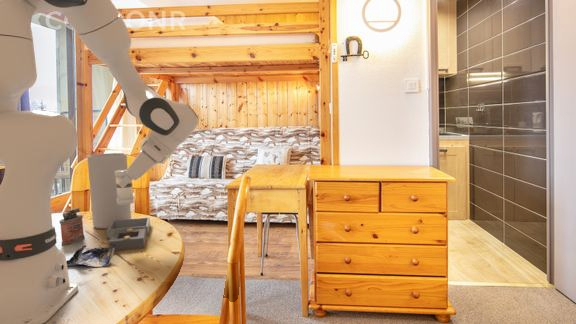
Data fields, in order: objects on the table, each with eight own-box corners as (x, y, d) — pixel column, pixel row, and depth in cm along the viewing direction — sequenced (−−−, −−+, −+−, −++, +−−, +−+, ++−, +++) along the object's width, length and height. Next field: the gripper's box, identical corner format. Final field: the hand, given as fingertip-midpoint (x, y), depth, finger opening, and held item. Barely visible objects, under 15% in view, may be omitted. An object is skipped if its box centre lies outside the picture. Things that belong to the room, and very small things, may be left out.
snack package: (71, 278, 93) (121, 263, 100) (66, 251, 93) (117, 239, 100) (60, 272, 102) (107, 259, 109) (56, 248, 102) (103, 237, 109)
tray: (148, 235, 124) (147, 226, 124) (107, 239, 121) (106, 230, 121) (150, 225, 136) (149, 217, 135) (113, 229, 132) (112, 220, 132)
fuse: (133, 203, 112) (131, 171, 111) (116, 205, 111) (113, 172, 110) (134, 200, 116) (132, 169, 116) (118, 202, 115) (115, 170, 114)
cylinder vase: (136, 224, 138) (131, 154, 135) (99, 231, 130) (93, 157, 127) (124, 218, 147) (119, 152, 145) (88, 224, 139) (82, 155, 136)
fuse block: (144, 248, 112) (143, 236, 111) (110, 251, 109) (109, 239, 109) (146, 238, 121) (145, 226, 121) (115, 241, 119) (114, 230, 118)
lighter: (68, 245, 116) (65, 213, 115) (58, 245, 116) (55, 212, 115) (87, 237, 124) (84, 206, 122) (78, 237, 124) (75, 206, 123)
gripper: (148, 141, 124) (117, 173, 122) (144, 144, 104) (107, 182, 102) (164, 154, 125) (133, 186, 124) (163, 159, 106) (126, 197, 104)
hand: (121, 184), depth 113 cm, fingers closed on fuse, 4 cm apart
